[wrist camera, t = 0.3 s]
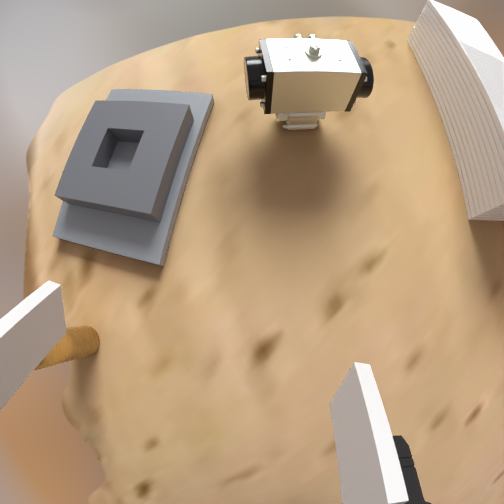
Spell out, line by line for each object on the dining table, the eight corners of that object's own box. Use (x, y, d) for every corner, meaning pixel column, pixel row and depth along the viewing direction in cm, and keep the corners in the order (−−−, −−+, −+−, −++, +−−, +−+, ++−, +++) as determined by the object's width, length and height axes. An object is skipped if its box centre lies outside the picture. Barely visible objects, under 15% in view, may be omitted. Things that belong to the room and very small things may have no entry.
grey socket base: (163, 266, 29) (148, 260, 25) (59, 238, 30) (37, 230, 25) (214, 102, 32) (209, 78, 28) (115, 95, 33) (103, 75, 28)
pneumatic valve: (350, 134, 32) (386, 67, 20) (249, 139, 31) (248, 65, 20) (338, 97, 33) (365, 29, 21) (244, 101, 32) (241, 26, 20)
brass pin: (97, 358, 28) (2, 387, 13) (74, 348, 28) (-23, 368, 13) (101, 331, 28) (3, 344, 13) (78, 322, 28) (-22, 327, 13)
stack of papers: (406, 41, 35) (428, -2, 25) (452, 55, 35) (477, 19, 25) (466, 220, 30) (523, 194, 20) (512, 221, 30) (562, 201, 20)
